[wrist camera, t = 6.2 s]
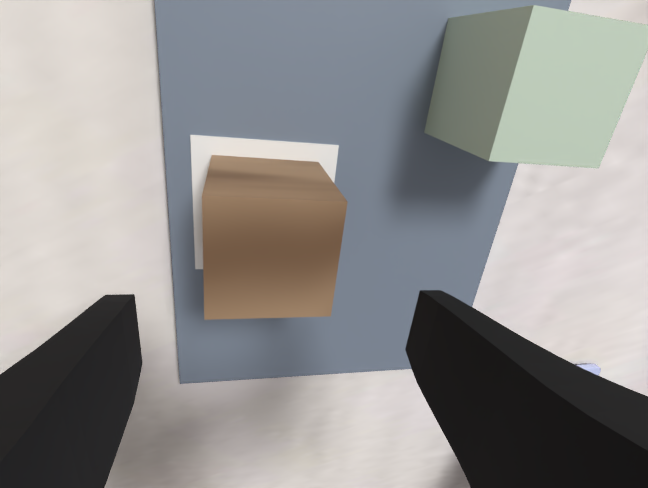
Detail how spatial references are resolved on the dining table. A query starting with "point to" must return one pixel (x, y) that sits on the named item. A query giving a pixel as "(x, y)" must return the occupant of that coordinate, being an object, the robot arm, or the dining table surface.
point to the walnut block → (270, 238)
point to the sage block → (534, 84)
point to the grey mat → (325, 168)
